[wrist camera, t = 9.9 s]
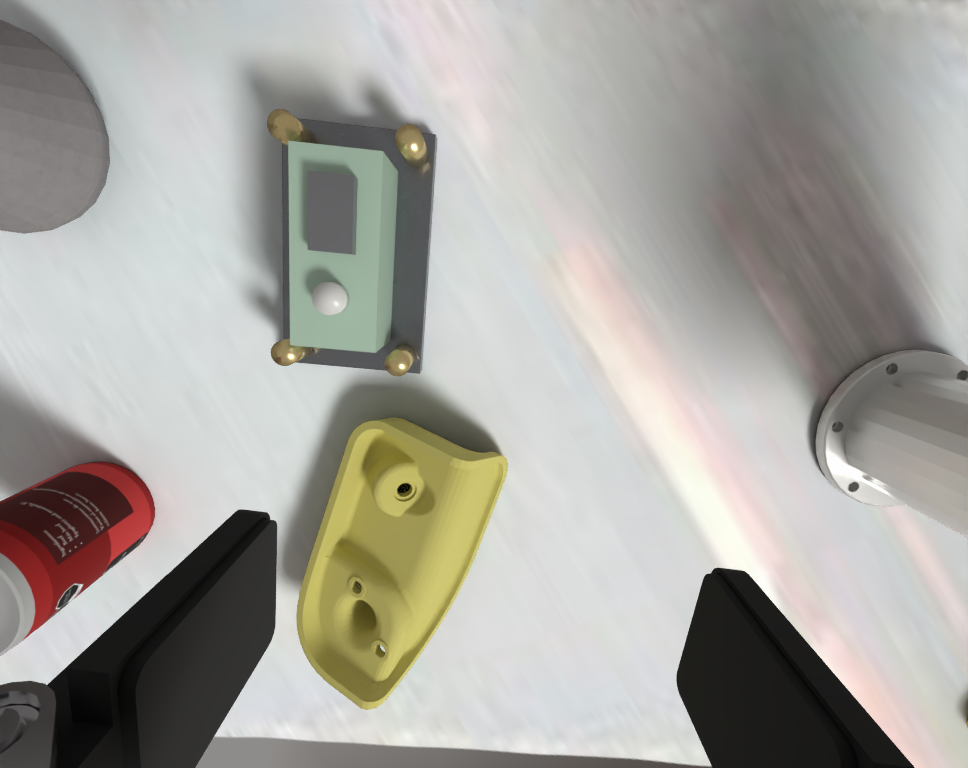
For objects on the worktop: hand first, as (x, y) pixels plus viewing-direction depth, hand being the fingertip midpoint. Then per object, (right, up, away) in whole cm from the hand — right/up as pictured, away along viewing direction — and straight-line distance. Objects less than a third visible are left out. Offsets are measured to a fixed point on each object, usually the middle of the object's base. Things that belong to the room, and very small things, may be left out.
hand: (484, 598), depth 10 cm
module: (-9, +13, +20) cm, 26 cm away
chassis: (-9, +14, +21) cm, 27 cm away
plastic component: (-7, -7, +27) cm, 29 cm away
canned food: (-30, -5, +26) cm, 40 cm away
